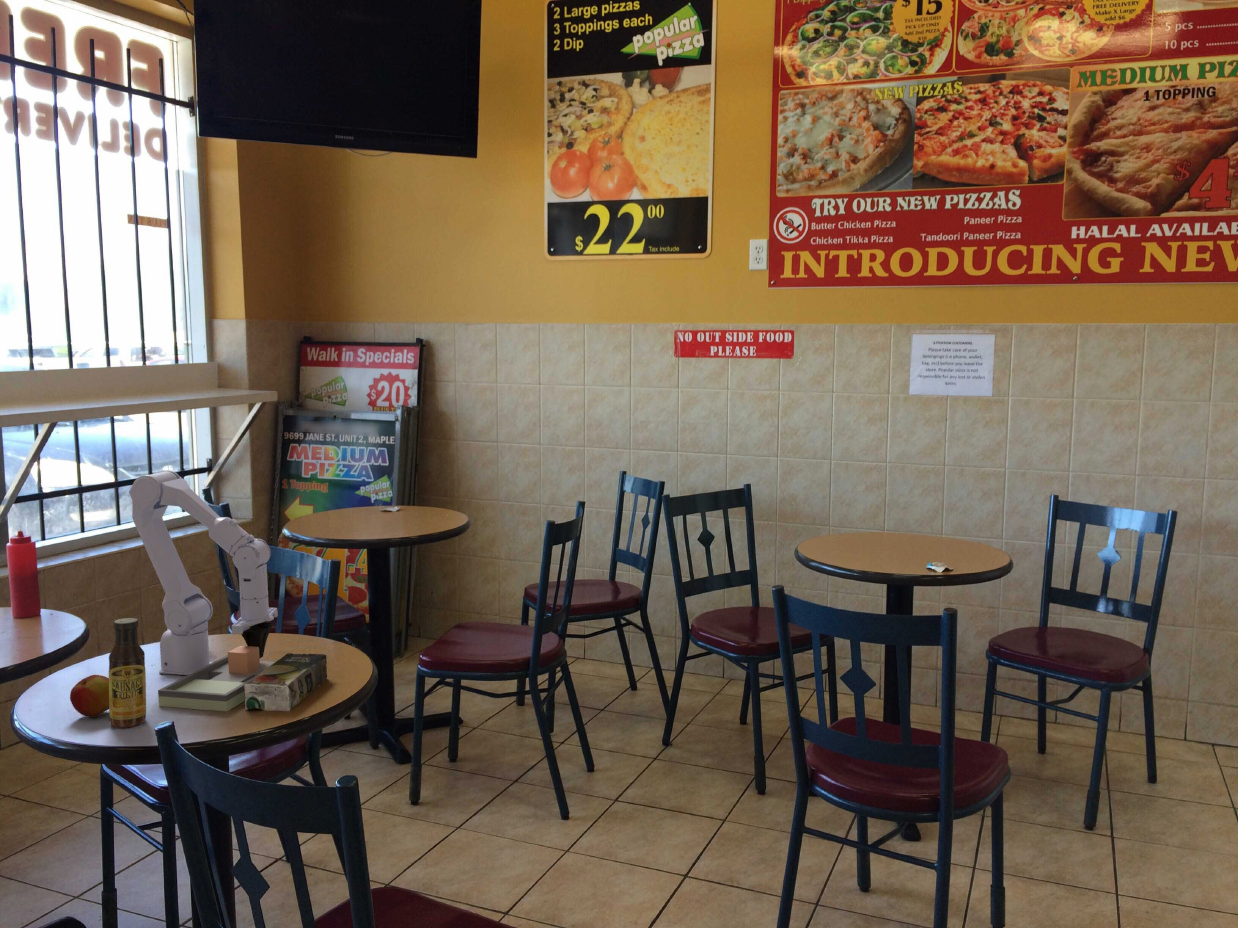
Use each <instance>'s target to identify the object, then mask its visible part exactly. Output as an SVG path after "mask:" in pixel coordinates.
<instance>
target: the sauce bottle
mask: <svg viewBox="0 0 1238 928" xmlns="http://www.w3.org/2000/svg"><path fill="white" fill-rule="evenodd" d="M138 627H139V619H138V618H133V617H126V618H118V619H116V620H114V622H113V629H114V633H115V641H114V645H113V648H112V649H111V651H110V653H109V655H108V662H109V663H108V664H109V666H108V678H109V709H108V710H109V711H108V713H109V718H110V720H109V721H110V722H109V723H110V725H111V726H112V727H113V728H118V729H119V728H120V729H121V728H123V729H124V728H126V729H127V728H131V727H136V726H139V725H141V724H143V723H144V722H145V721H146V718H147V688H146V687H147V682H146V681H147V680H146V679H147V678H146V676H147V675H146V674H147V673H146V672H147V671H146V666H145V663H146V661H145V660H146V659H145V657H146V656H145V654H146V653H145V651H144V649H143V648H142V646H140V644H139V638H138Z"/></svg>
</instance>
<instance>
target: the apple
mask: <svg viewBox="0 0 1238 928" xmlns="http://www.w3.org/2000/svg"><path fill="white" fill-rule="evenodd" d="M69 699H70V700H69V701H70V704H71V705H72V707H73V709H74V710H75V711H76V712H77V713H79V714H80V715H81V716H85V717H87V718H95V717H98V716H100V715H101V714H103V713H104V712H107V711H108V710H109V677H107V676H104V675H101V674H92V675H89V676H86V677H84V678H83V679H81V680H79V681H78V682H77V683H76V684H75V685H74V686H73V687H72V688H71V691H70V695H69Z"/></svg>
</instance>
